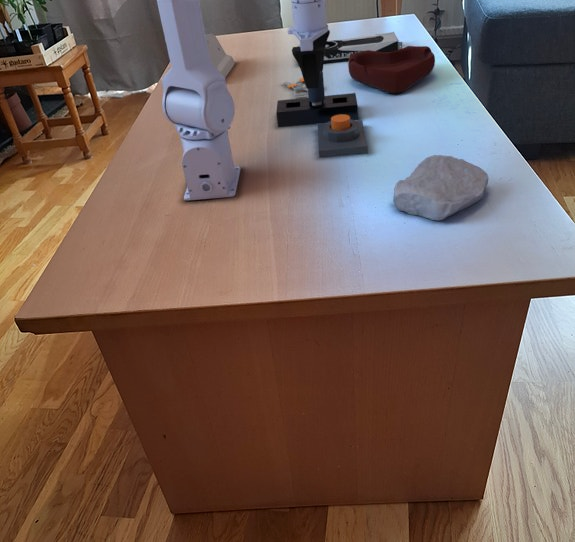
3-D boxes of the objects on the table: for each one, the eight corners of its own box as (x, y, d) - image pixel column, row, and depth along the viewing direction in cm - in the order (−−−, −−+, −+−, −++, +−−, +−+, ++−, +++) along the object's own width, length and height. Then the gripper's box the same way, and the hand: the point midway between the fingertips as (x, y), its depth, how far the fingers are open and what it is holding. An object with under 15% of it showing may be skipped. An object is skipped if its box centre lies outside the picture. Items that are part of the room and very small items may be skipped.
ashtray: (352, 101, 110) (351, 76, 107) (347, 74, 123) (346, 51, 120) (443, 92, 108) (444, 66, 105) (428, 66, 121) (429, 43, 118)
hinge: (219, 85, 126) (197, 44, 121) (202, 93, 128) (179, 52, 123) (235, 62, 139) (215, 24, 134) (219, 70, 141) (199, 32, 136)
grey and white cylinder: (328, 115, 105) (325, 70, 100) (322, 121, 103) (319, 76, 98) (313, 114, 106) (310, 70, 101) (308, 120, 104) (303, 75, 99)
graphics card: (402, 40, 127) (295, 52, 129) (402, 55, 129) (297, 66, 131) (396, 29, 135) (295, 40, 137) (396, 43, 137) (297, 54, 139)
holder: (358, 120, 102) (357, 104, 100) (278, 127, 103) (276, 112, 101) (355, 108, 107) (355, 92, 105) (279, 115, 108) (277, 100, 106)
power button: (351, 130, 92) (350, 120, 91) (331, 132, 92) (331, 122, 91) (349, 123, 95) (349, 113, 94) (331, 124, 95) (330, 115, 94)
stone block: (489, 198, 78) (427, 171, 83) (499, 171, 75) (434, 144, 79) (450, 241, 72) (385, 209, 76) (459, 213, 68) (391, 181, 73)
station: (367, 154, 90) (367, 136, 88) (319, 158, 91) (317, 141, 89) (362, 127, 99) (361, 111, 97) (318, 131, 100) (316, 115, 98)
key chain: (325, 93, 115) (324, 89, 114) (290, 99, 114) (290, 95, 114) (313, 75, 125) (312, 71, 124) (281, 80, 124) (281, 76, 124)
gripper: (290, -8, 99) (298, 68, 107) (278, 11, 87) (287, 95, 96) (329, -12, 98) (334, 66, 106) (322, 8, 86) (327, 93, 94)
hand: (314, 80), depth 101 cm, fingers open, 7 cm apart
